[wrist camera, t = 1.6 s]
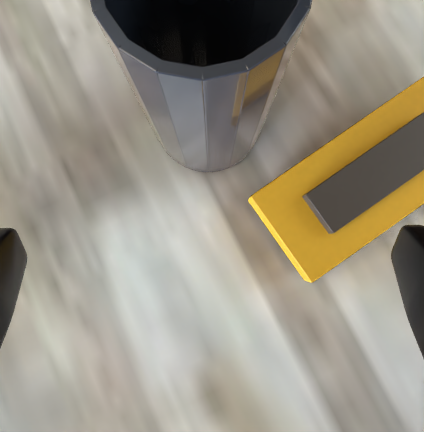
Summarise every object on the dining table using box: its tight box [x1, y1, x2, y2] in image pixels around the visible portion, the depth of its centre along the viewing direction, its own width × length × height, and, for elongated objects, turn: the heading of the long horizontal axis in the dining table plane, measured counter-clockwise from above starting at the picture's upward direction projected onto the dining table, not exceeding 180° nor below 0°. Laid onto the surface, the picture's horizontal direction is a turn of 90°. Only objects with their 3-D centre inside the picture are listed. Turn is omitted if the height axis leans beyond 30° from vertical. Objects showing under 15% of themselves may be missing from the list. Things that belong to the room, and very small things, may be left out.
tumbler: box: [90, 0, 312, 172], centre depth 17 cm, size 6×6×12 cm
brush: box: [248, 77, 424, 283], centre depth 21 cm, size 12×6×4 cm, turn 125°
